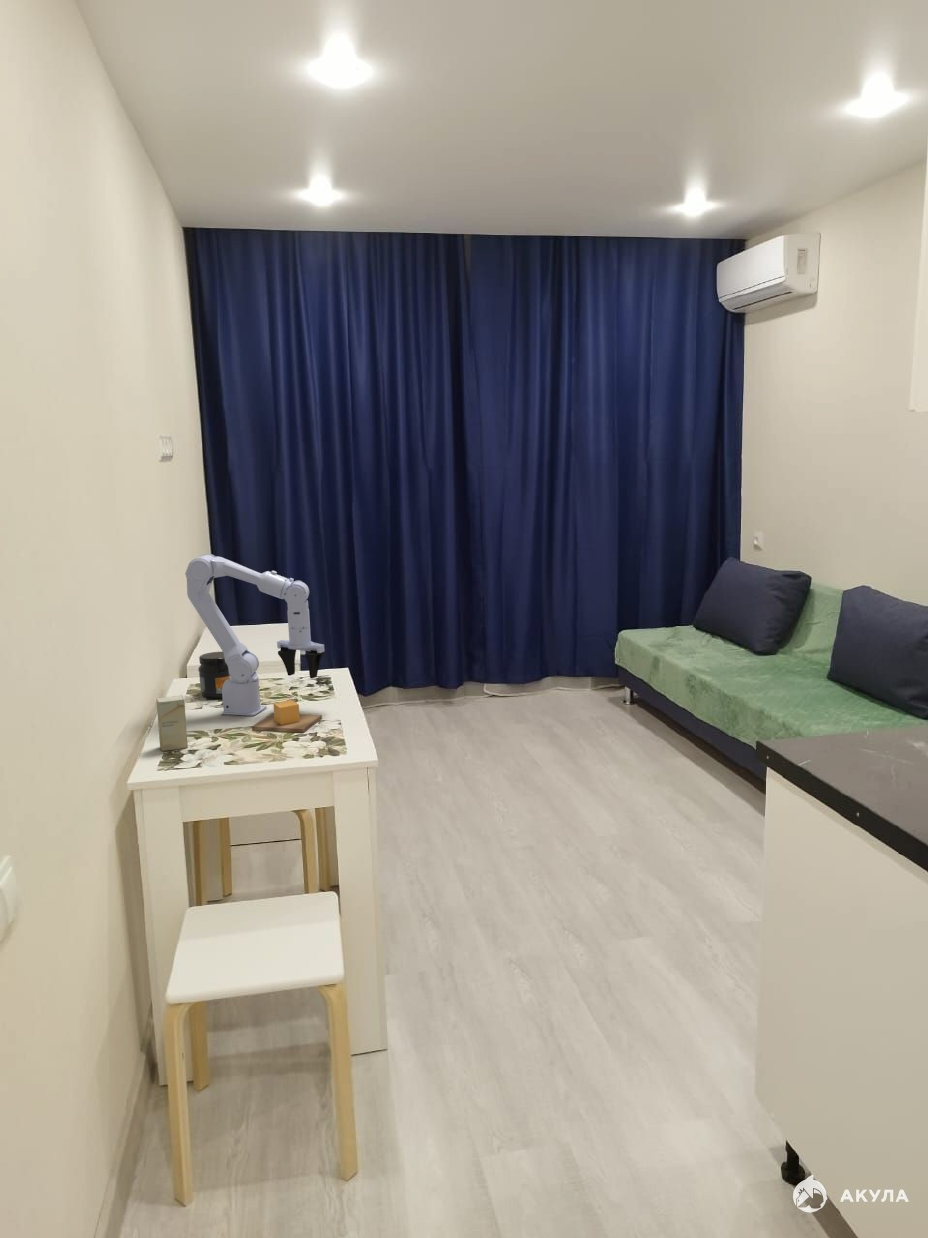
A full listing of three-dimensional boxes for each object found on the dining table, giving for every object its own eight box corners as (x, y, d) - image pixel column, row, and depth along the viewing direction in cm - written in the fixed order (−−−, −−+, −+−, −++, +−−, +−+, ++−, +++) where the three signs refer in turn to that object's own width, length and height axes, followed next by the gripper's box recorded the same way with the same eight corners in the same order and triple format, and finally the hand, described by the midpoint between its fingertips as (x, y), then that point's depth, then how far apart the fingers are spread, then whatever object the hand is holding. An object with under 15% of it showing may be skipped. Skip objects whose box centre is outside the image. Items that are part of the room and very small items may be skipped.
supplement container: (243, 695, 259) (240, 655, 257) (207, 702, 253) (204, 661, 251) (230, 688, 268) (227, 649, 266) (195, 694, 262) (192, 654, 260)
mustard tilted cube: (281, 724, 228) (280, 707, 227) (274, 720, 232) (273, 703, 231) (299, 721, 230) (298, 704, 229) (292, 716, 234) (291, 700, 233)
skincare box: (161, 751, 213) (156, 702, 210) (159, 746, 217) (155, 698, 214) (189, 747, 215) (184, 698, 213) (186, 742, 219) (182, 694, 217)
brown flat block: (252, 730, 227) (251, 715, 226) (273, 716, 239) (271, 701, 238) (303, 732, 224) (302, 717, 223) (322, 718, 235) (321, 704, 235)
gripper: (268, 627, 239) (271, 677, 242) (311, 631, 233) (314, 682, 235) (285, 622, 245) (288, 670, 248) (328, 626, 239) (330, 676, 241)
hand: (302, 676), depth 242 cm, fingers open, 7 cm apart
